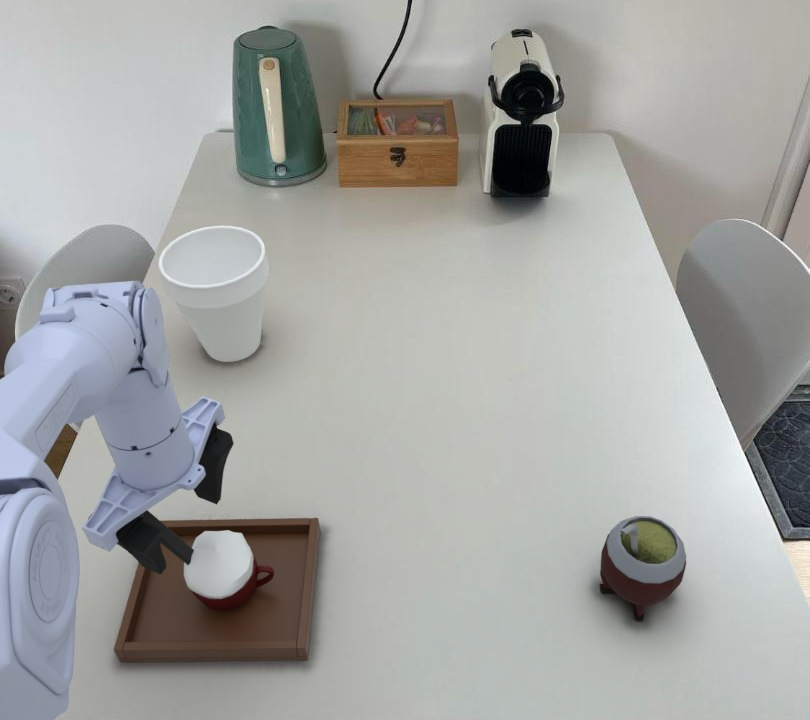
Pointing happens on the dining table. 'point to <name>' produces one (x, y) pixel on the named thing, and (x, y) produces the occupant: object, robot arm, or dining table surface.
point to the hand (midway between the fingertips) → (182, 531)
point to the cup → (219, 287)
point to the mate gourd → (642, 562)
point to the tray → (236, 628)
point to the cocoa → (216, 565)
